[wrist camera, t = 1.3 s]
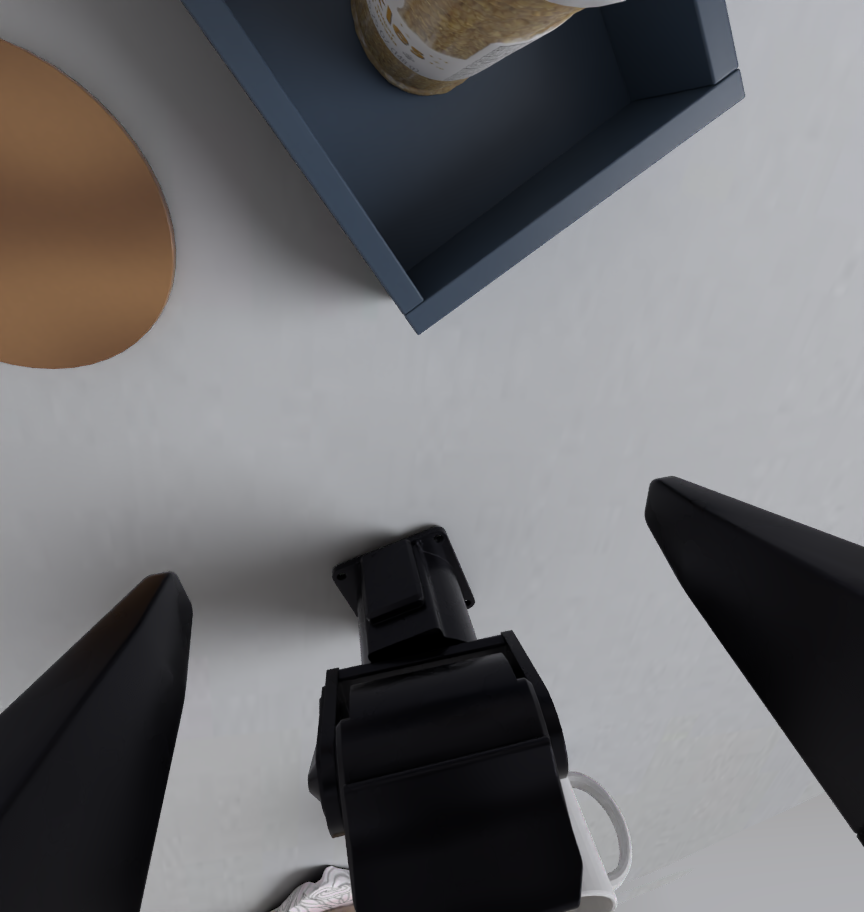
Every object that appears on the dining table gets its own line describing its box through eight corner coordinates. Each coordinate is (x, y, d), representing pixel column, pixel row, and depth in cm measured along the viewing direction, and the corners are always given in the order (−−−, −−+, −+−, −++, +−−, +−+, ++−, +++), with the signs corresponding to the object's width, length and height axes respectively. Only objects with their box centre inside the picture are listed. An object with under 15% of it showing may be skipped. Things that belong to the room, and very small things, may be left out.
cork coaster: (230, 307, 19) (229, 310, 19) (-9, 403, 19) (-15, 408, 19) (37, -35, 14) (30, -40, 13) (-295, 101, 14) (-311, 99, 13)
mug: (434, 787, 40) (464, 952, 32) (513, 722, 38) (569, 884, 29) (522, 808, 45) (568, 955, 37) (597, 751, 43) (666, 896, 34)
